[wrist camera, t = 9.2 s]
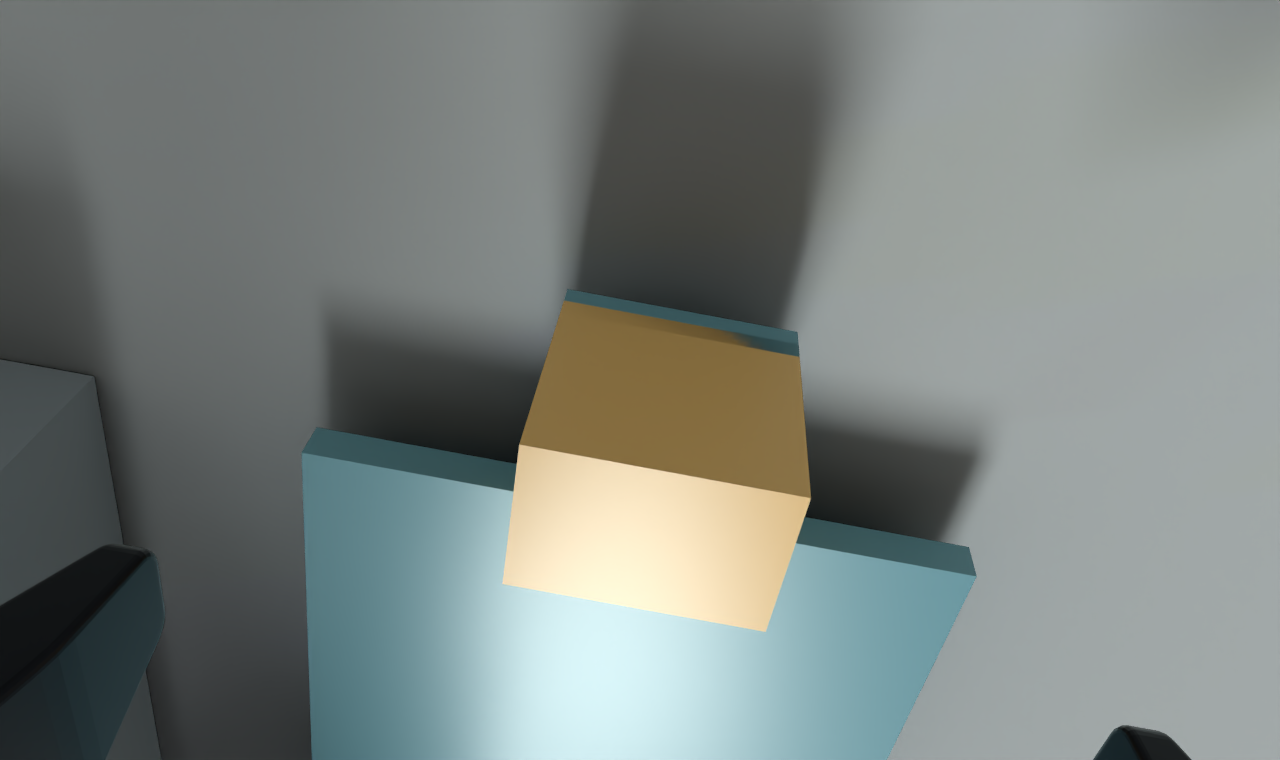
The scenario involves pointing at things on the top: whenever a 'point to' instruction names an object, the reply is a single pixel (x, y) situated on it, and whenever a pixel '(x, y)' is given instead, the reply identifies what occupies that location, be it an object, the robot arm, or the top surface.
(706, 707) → the lid
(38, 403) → the tub
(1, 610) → the robot arm
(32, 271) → the top surface
